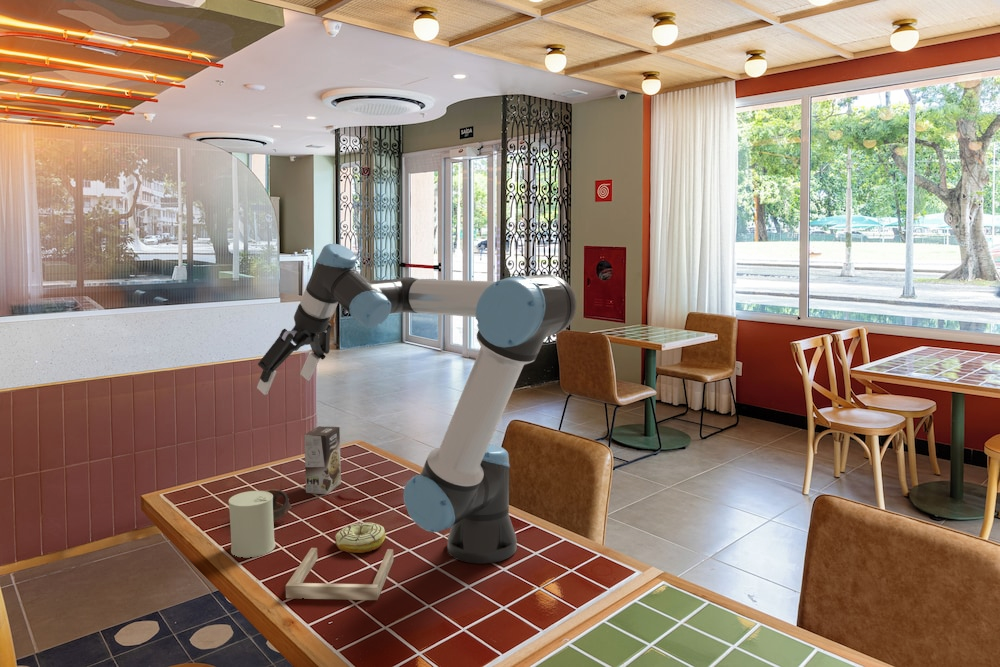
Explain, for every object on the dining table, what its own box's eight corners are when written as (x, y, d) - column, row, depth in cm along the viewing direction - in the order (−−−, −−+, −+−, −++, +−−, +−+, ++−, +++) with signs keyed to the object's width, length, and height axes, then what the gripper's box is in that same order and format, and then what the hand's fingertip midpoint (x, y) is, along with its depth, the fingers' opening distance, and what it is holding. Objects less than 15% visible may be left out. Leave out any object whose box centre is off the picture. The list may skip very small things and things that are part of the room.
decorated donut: (341, 535, 161) (340, 519, 161) (388, 534, 161) (387, 519, 161) (331, 556, 151) (330, 539, 150) (381, 555, 151) (381, 538, 150)
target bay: (393, 560, 148) (393, 549, 148) (377, 600, 132) (377, 587, 132) (311, 559, 149) (311, 547, 149) (285, 598, 133) (285, 585, 132)
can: (261, 559, 148) (258, 505, 147) (222, 555, 150) (219, 502, 149) (283, 541, 157) (281, 490, 156) (245, 537, 159) (243, 487, 158)
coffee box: (327, 495, 185) (325, 435, 183) (305, 493, 186) (302, 434, 184) (342, 483, 194) (340, 426, 192) (320, 481, 195) (318, 425, 193)
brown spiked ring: (294, 511, 176) (297, 489, 171) (281, 541, 168) (284, 519, 163) (247, 500, 175) (248, 477, 170) (231, 530, 167) (232, 507, 163)
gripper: (341, 292, 166) (310, 362, 175) (261, 308, 144) (230, 387, 153) (364, 310, 164) (331, 380, 172) (286, 329, 142) (253, 408, 151)
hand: (284, 383), depth 163 cm, fingers open, 13 cm apart
